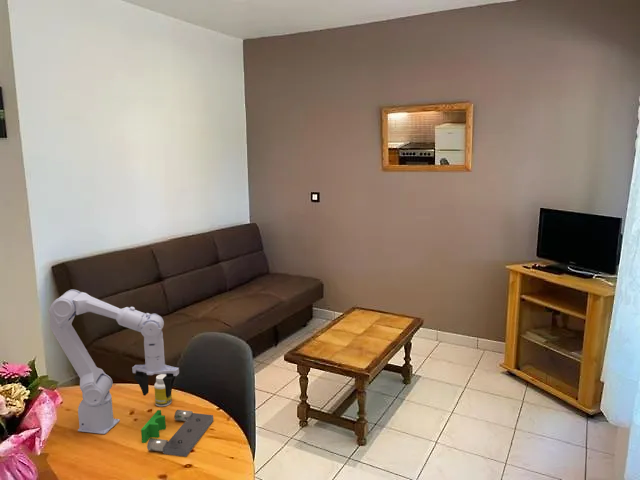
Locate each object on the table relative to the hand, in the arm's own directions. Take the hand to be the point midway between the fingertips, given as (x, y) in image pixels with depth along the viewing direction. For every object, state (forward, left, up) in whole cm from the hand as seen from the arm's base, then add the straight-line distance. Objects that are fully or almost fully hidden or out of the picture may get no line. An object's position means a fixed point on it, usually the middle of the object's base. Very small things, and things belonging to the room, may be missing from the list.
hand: (157, 394), depth 155 cm
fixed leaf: (+10, -6, -9) cm, 15 cm away
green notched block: (+2, -6, -10) cm, 11 cm away
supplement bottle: (-5, +11, -10) cm, 16 cm away
